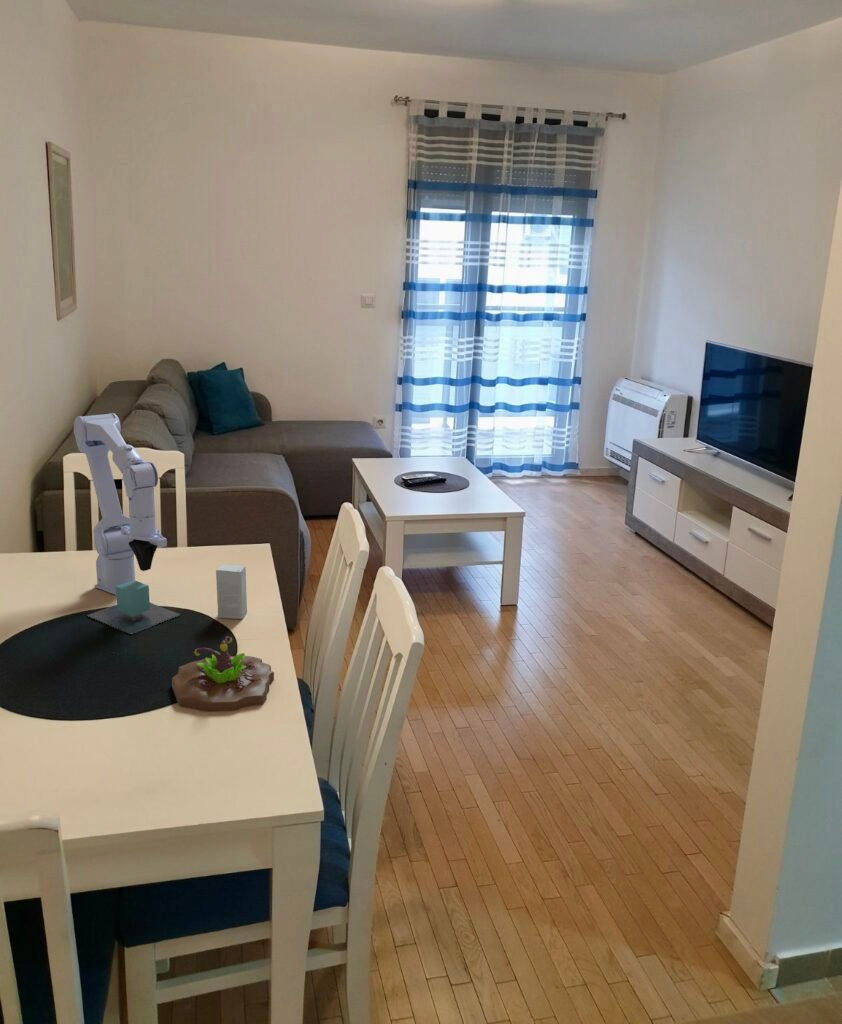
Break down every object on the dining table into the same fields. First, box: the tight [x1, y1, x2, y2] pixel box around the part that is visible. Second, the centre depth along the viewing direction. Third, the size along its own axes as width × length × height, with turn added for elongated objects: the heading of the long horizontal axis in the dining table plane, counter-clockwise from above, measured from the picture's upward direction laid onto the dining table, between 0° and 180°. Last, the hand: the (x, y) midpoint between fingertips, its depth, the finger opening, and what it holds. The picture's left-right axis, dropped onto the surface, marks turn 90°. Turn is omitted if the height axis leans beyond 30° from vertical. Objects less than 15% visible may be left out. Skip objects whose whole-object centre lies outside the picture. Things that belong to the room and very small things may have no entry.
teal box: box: [115, 579, 151, 616], centre depth 209 cm, size 5×5×6 cm
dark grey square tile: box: [86, 602, 181, 635], centre depth 209 cm, size 16×14×7 cm
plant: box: [171, 635, 275, 713], centre depth 177 cm, size 20×20×11 cm
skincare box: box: [215, 564, 248, 620], centre depth 211 cm, size 6×4×12 cm
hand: (145, 569), depth 212 cm, fingers closed
